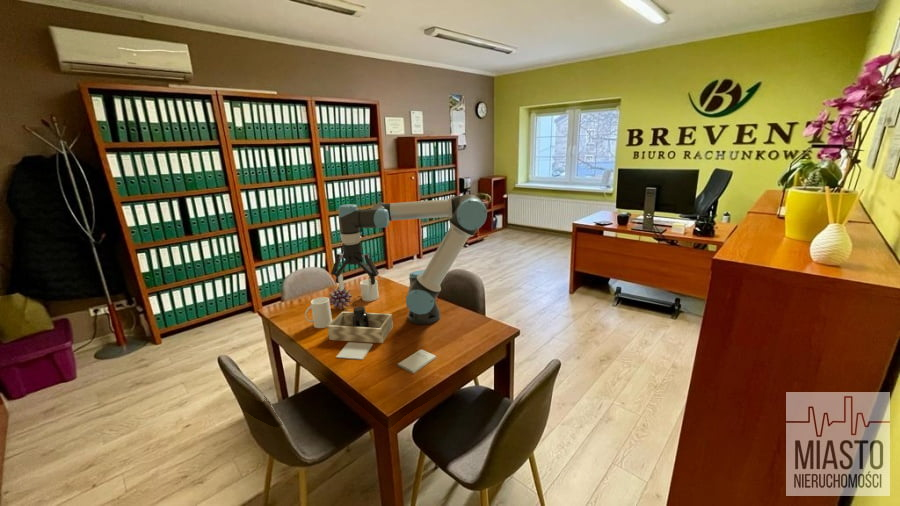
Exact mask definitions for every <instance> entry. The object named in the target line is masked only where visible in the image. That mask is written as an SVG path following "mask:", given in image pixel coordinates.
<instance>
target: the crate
mask: <svg viewBox="0 0 900 506" xmlns="http://www.w3.org/2000/svg"><path fill="white" fill-rule="evenodd" d="M366 313H367V314H368V320H369V327H353V321H352V316H353V314H354V311H341V312H340V313H339V314H338V315H337V316H336V317H335V318H334V319H332V322H331V323H330V324H329V325H328V326H327V327H326V328H327V332H328V333H327V335H328V340H329V341H342V342H343V341H345V342H355V343H370V344H373V343H374V344H383V343H384V342H385V340H386V338H387V337H388V336H389V334H390V332H391V331H392V329H393V328H394V323H393V321H394V319H393V314H392V313H380V312H379V313H378V312H377V313H376V312H366Z"/></svg>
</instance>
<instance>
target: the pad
mask: <svg viewBox="0 0 900 506" xmlns="http://www.w3.org/2000/svg"><path fill="white" fill-rule="evenodd" d="M373 346H374V344H373V343H370V342H355V341H347V343H346V344H345V345H344V347H343V348H342V349H341V350H340V351H339V353H338V354H337V355H336V356H335V357H336V358H338V359H346V360H347V359H349V360H360V361H362V360H364V358H365V357H366V355H367V354H368V353H369V351H370V350H371V348H372V347H373Z"/></svg>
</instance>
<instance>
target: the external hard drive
mask: <svg viewBox="0 0 900 506" xmlns="http://www.w3.org/2000/svg"><path fill="white" fill-rule="evenodd" d="M435 359H437V356H436V355H435V354H433V353H430V352H428V351H426V350H425V349H419V350H418V351H415V352H414V353H413V354H411V355H409V356H408V357H407V358H405V359H403V360H402V361H400V362H399V363H397V366H398V367H400V368H401V369H404V370H406V371H408V372H409V373H412V374H415V373H417V372H418V371H420V370H421V369H422V368H425V366H426V365H428V364H430V363H431V362H433V361H434V360H435ZM429 362H430V363H429Z"/></svg>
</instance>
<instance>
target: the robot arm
mask: <svg viewBox="0 0 900 506" xmlns="http://www.w3.org/2000/svg"><path fill="white" fill-rule="evenodd" d="M337 211H338V219H339V220H338V221H339V229H340V236H341V243H342V252H343V253H342V252H337V254H336V255H335V257H336V258H335V261H334V264H333V267H332V270H331V272H330V274H331V275H332V276H335V278H336V284H338V286H339V290H340V291H342V290H343V289H344V287H345V286H344V285H345V284H344V277H343V276H344V275H343V274H342V273H343V271H344V270H345V269H346V267H347V266H348V265H351V266H352V265H354V266H357V265H358V266H359V267H361V269H362V270H363V271H364V272H365V273H366V274H367V275H368V276H369V277H368V279H369V289H370V293H372V292H373V291H374V284H375V280H376V277H378V275H379V271H378V269H377V267H376V266H375V264H374V262H373V261H372V258H371V254H370V253H366V254H365V253H364V254H363V252H362V251H363V248H362V242H361V240H362V237H361V229H382V228H388V227H389V224H390V221H391V222H393V221H404V220H405V221H406V220H417V219H419V220H420V219H422V220H423V219H433V218H436V219H437V218H450V219H449V226H450V227H449V228H448V229H447V232H446V233H445V235H444V237H443V238H442V239H441V240H442V241H441V242H440V244H438V245H439V246H438V247H437V249H436V251H435V253H433V256H432V258H431V259H430V261H428V265H427V266H426V267H425V268H424V270H422V269H420V270H415V271H414V270H413V271H412V272H410V273H409V275H408V276H409V278H408V279H409V286H408V290H407V294H406V296H405V304H406V306H407V309H408V310H409V311H408V315H407V316H408V321H409V322H410V323H413V324H416V325H430V324H433V323H436V322H437V321H439V320H440V318H441V311H440V308H439V305H438V303H437V300H436V299H437V298H438V296H439V294H440V292H441V290H442V288H441V283H442V282H443V281H444V278H445V277H446V276H447V274H448V272H449V270H450V269H451V267H452V266H453V264H454V262H455V261H456V259H457V258H458V256H459V254H460V253H461V251H462V249H463V247H464V246H465V244H466V243H467V241H468V240H469V238H472V237H474V236H475V235H476V233H477V232H478V230H479V229H480V228H482V226H483V225H484V224H485V222H487V221H486V220H487V217H488V212H487V206H486V204H484V201H482V199H481V198H480V197H479V196H477V195H475V194H463V195H457V196H450V197H448V199H445V198H444V199H434V200H419V201H406V202H405V201H404V202H390V203H385V202H378V203H376V204H374V205H372V207H371V208H370V209H369V208H368V209H366V208H365V209H359V208H358V205H357V204H355V203H353V204H352V203H349V204H348V203H347V204H341V205H340V206H338V210H337ZM342 259H344V260H345V261H343V263H342V264H341V261H342ZM340 264H341V266H340ZM339 266H340V267H339ZM438 319H439V320H438Z"/></svg>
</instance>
